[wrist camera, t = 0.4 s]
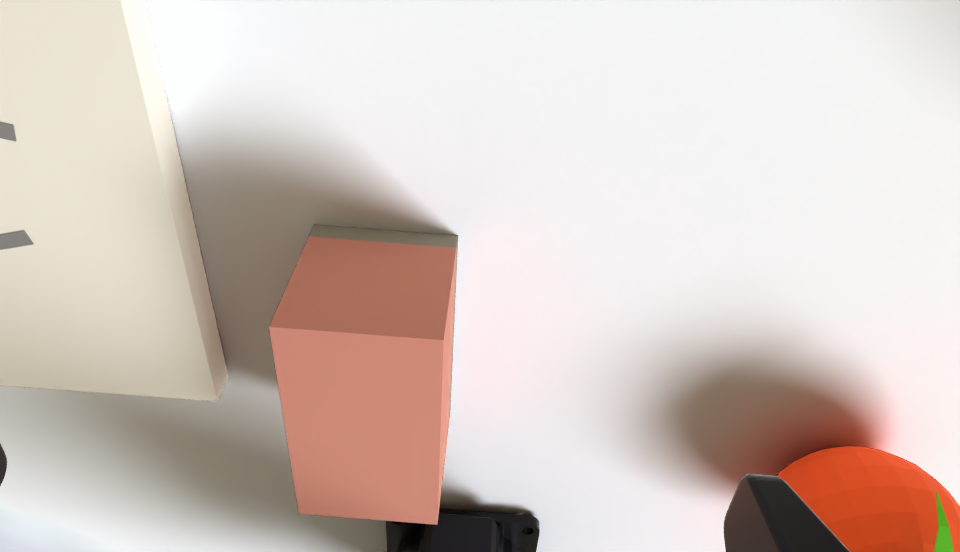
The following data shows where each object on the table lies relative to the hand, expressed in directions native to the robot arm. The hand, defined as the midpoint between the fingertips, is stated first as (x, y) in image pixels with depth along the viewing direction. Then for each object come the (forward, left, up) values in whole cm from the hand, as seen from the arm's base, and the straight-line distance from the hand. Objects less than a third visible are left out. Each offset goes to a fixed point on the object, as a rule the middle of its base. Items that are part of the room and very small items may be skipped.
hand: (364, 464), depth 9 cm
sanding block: (-9, +2, -13) cm, 16 cm away
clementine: (-14, -15, -13) cm, 25 cm away
